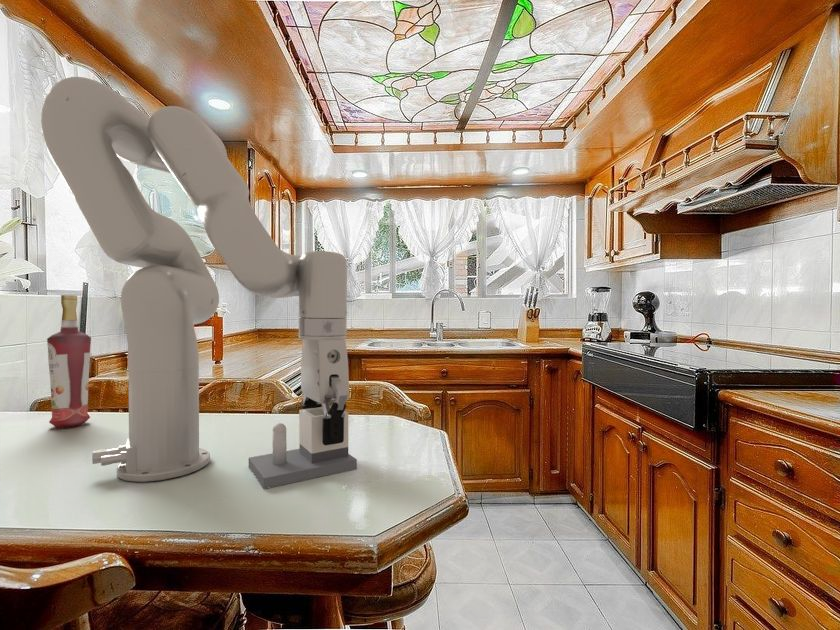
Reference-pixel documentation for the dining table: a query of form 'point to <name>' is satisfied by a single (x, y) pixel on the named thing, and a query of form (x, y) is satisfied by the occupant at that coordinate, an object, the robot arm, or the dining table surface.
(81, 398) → the liquor
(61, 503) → the dining table surface
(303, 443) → the sleeve
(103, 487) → the dining table surface
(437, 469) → the dining table surface
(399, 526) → the dining table surface
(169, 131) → the robot arm
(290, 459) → the pin board
